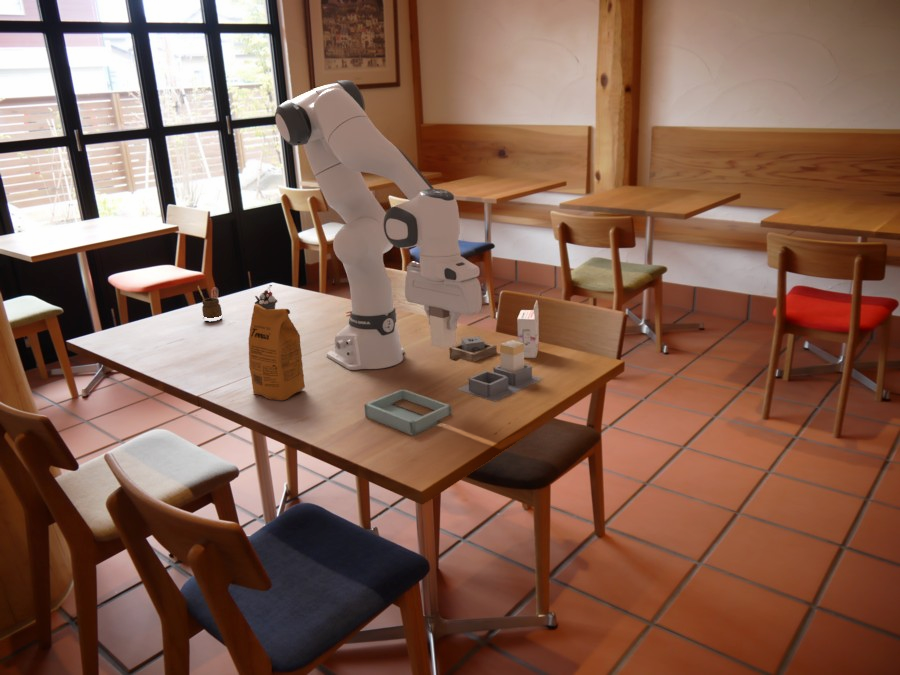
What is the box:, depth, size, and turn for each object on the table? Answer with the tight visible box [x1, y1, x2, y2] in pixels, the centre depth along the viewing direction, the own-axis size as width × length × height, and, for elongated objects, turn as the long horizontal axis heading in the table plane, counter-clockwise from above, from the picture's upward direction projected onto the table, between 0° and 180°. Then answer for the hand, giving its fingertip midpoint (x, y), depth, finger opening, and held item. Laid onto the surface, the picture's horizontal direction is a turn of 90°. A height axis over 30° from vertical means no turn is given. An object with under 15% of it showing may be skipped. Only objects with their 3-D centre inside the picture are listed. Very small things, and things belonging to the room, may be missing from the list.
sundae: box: [254, 284, 278, 310], centre depth 227 cm, size 7×7×15 cm
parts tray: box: [364, 388, 452, 437], centre depth 165 cm, size 16×12×3 cm
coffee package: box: [248, 303, 306, 401], centre depth 179 cm, size 10×12×22 cm
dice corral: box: [448, 342, 498, 363], centre depth 200 cm, size 9×9×3 cm
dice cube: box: [460, 336, 485, 353], centre depth 200 cm, size 5×5×5 cm
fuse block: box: [457, 363, 544, 403], centre depth 179 cm, size 12×18×4 cm, turn 136°
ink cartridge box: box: [516, 299, 540, 359], centre depth 198 cm, size 9×5×15 cm, turn 168°
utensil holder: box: [197, 285, 223, 318], centre depth 244 cm, size 6×6×12 cm
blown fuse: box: [429, 306, 457, 349], centre depth 164 cm, size 4×4×9 cm
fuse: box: [499, 339, 525, 372], centre depth 181 cm, size 4×4×9 cm
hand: (442, 327), depth 164 cm, fingers closed on blown fuse, 4 cm apart
